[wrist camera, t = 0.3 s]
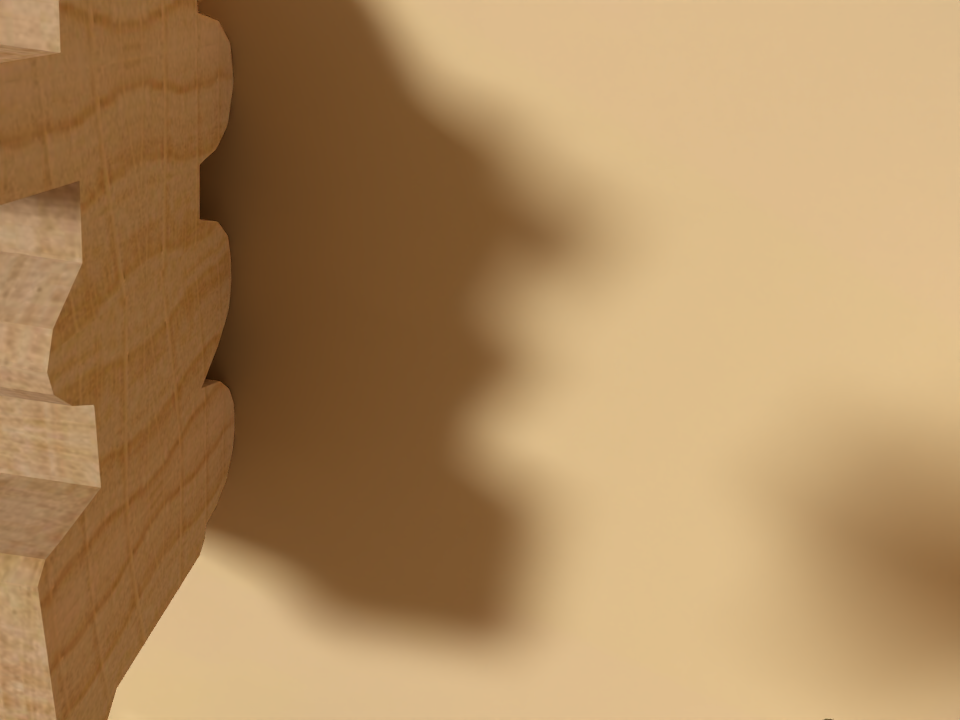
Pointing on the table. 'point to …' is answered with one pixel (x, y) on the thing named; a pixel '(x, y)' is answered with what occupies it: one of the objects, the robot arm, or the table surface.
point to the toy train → (105, 336)
